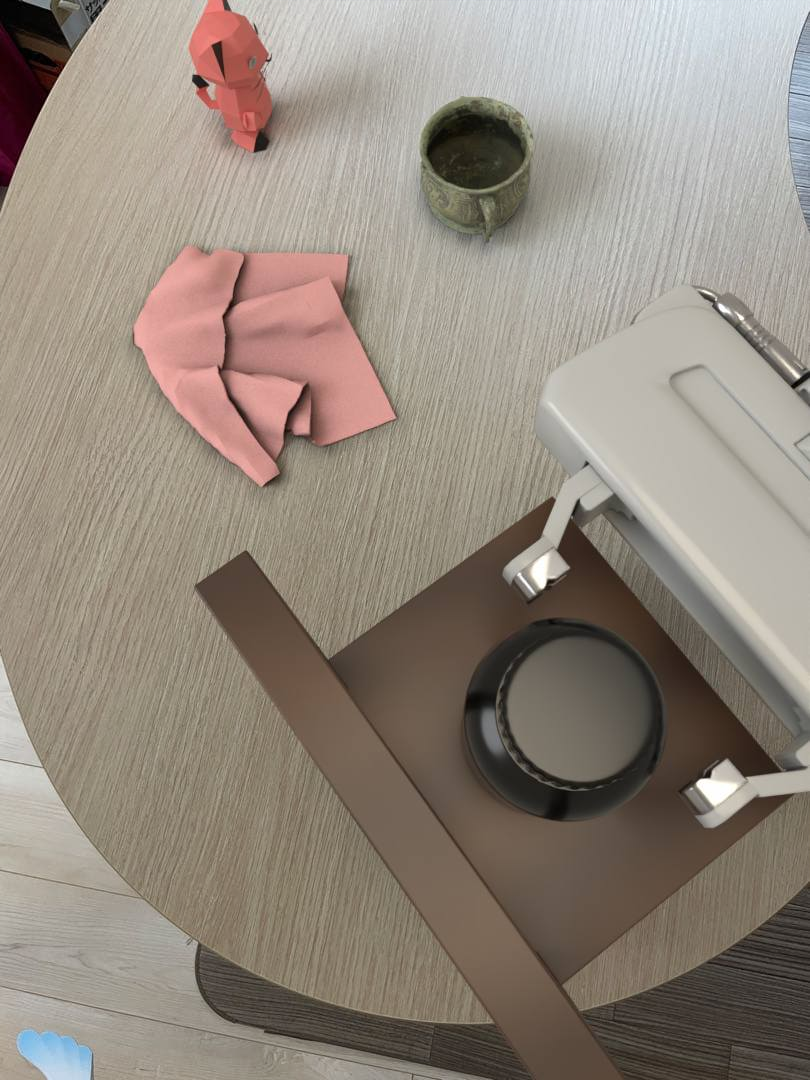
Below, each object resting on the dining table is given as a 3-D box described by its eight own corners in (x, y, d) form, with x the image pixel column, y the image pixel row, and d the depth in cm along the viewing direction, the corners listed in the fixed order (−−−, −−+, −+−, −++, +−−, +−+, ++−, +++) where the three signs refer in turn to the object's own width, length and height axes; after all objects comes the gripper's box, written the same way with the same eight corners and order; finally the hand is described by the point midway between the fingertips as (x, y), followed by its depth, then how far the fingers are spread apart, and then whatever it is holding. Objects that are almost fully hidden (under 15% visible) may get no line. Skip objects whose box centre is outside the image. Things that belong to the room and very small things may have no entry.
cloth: (162, 230, 77) (153, 212, 75) (426, 266, 75) (425, 249, 73) (96, 461, 72) (85, 449, 69) (379, 506, 70) (377, 496, 68)
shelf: (657, 798, 64) (1091, 775, 21) (493, 930, 62) (611, 1192, 19) (510, 611, 67) (630, 279, 25) (351, 730, 66) (192, 586, 23)
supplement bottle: (452, 659, 41) (457, 599, 29) (611, 646, 40) (679, 581, 29) (467, 825, 39) (478, 832, 27) (633, 812, 39) (716, 814, 27)
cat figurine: (285, 162, 79) (258, 51, 67) (203, 162, 79) (162, 51, 67) (290, 91, 80) (265, -29, 69) (210, 92, 81) (172, -28, 69)
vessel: (407, 143, 79) (404, 88, 73) (511, 125, 79) (517, 68, 73) (434, 268, 75) (434, 220, 69) (543, 248, 75) (552, 199, 69)
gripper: (727, 215, 34) (417, 435, 32) (1184, 674, 29) (848, 966, 27) (683, 306, 40) (421, 495, 38) (1055, 698, 35) (773, 938, 33)
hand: (601, 694), depth 32 cm, fingers open, 8 cm apart
